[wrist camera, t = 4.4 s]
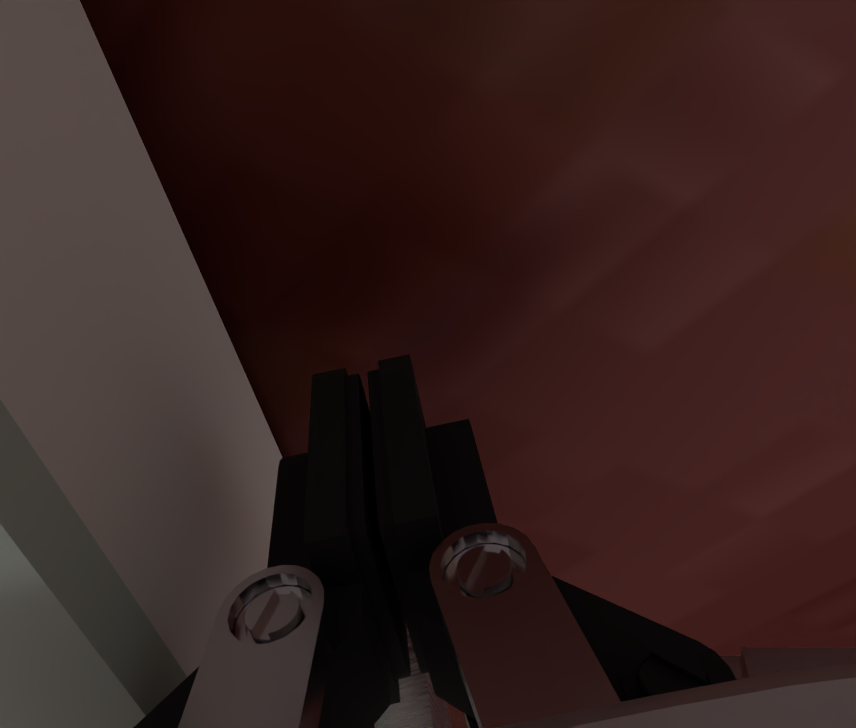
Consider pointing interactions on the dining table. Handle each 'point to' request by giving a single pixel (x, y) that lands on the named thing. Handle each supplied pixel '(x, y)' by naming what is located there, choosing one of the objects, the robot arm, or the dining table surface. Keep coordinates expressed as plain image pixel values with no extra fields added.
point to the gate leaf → (108, 402)
